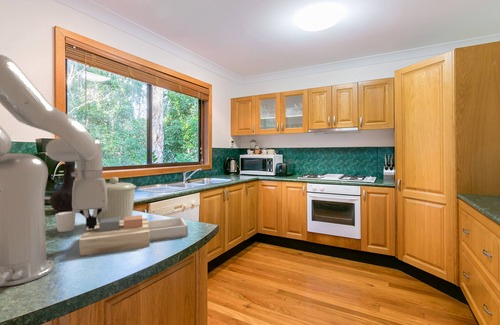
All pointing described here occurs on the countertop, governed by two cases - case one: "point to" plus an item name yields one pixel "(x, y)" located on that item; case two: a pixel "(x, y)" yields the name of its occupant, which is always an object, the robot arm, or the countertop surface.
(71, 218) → the shot glass
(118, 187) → the canister
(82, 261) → the countertop surface
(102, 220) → the slate tile
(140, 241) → the board
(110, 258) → the countertop surface
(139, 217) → the terracotta tile
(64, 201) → the dark brown vase
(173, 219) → the bin
